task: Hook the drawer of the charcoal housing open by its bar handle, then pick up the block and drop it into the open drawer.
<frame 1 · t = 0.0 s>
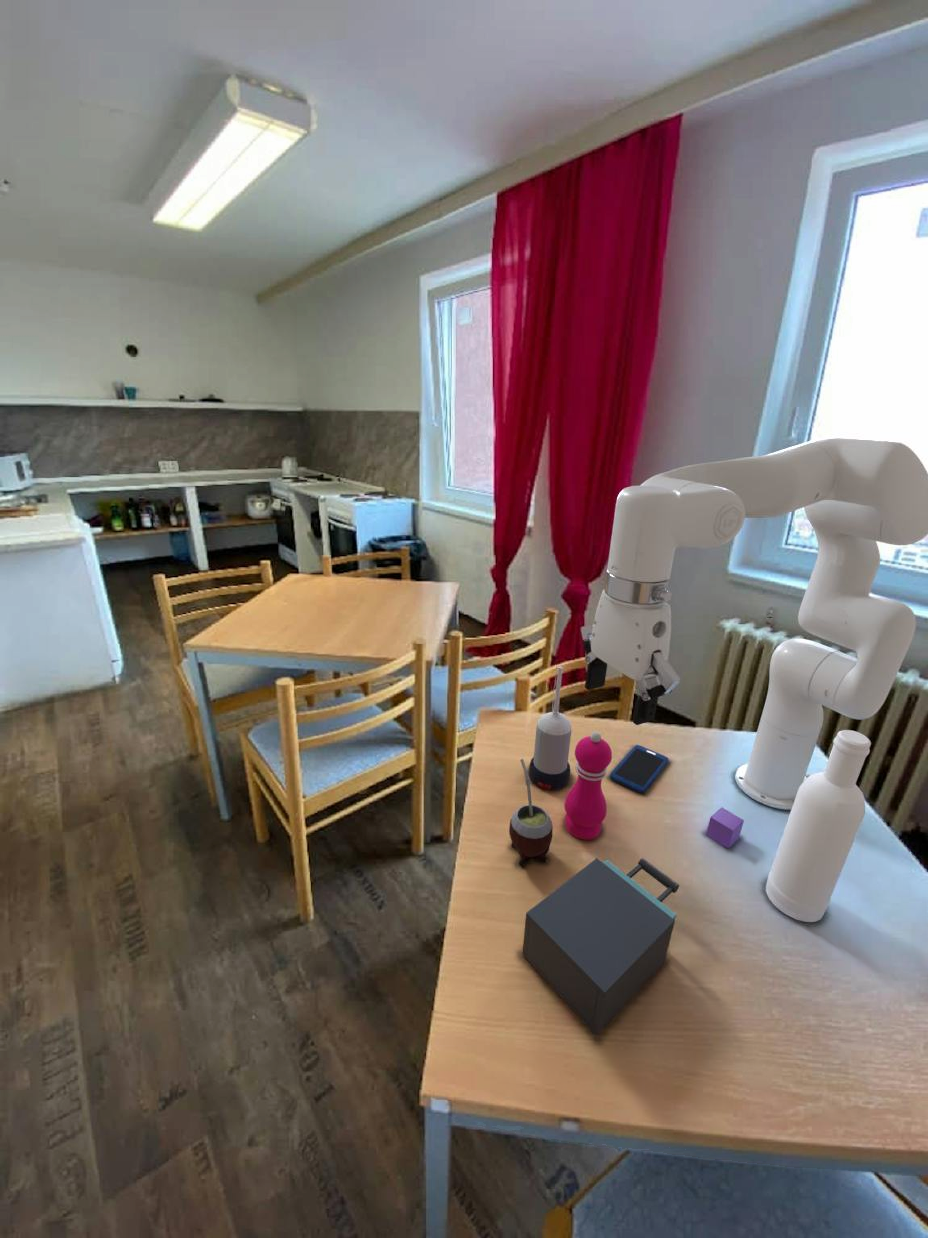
hand: (617, 703, 72), 31 cm above the table, tool pointing down, fingers open, 9 cm apart
mate gourd: (526, 851, 87), on the table
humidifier: (548, 777, 105), on the table
bottle: (793, 900, 80), on the table
drawer: (619, 916, 72), point 4 cm above the table, slide at 0.5 cm
pepper mill: (582, 827, 93), on the table
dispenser: (593, 958, 70), on the table
cell phone: (639, 769, 107), on the table
block: (722, 836, 91), on the table
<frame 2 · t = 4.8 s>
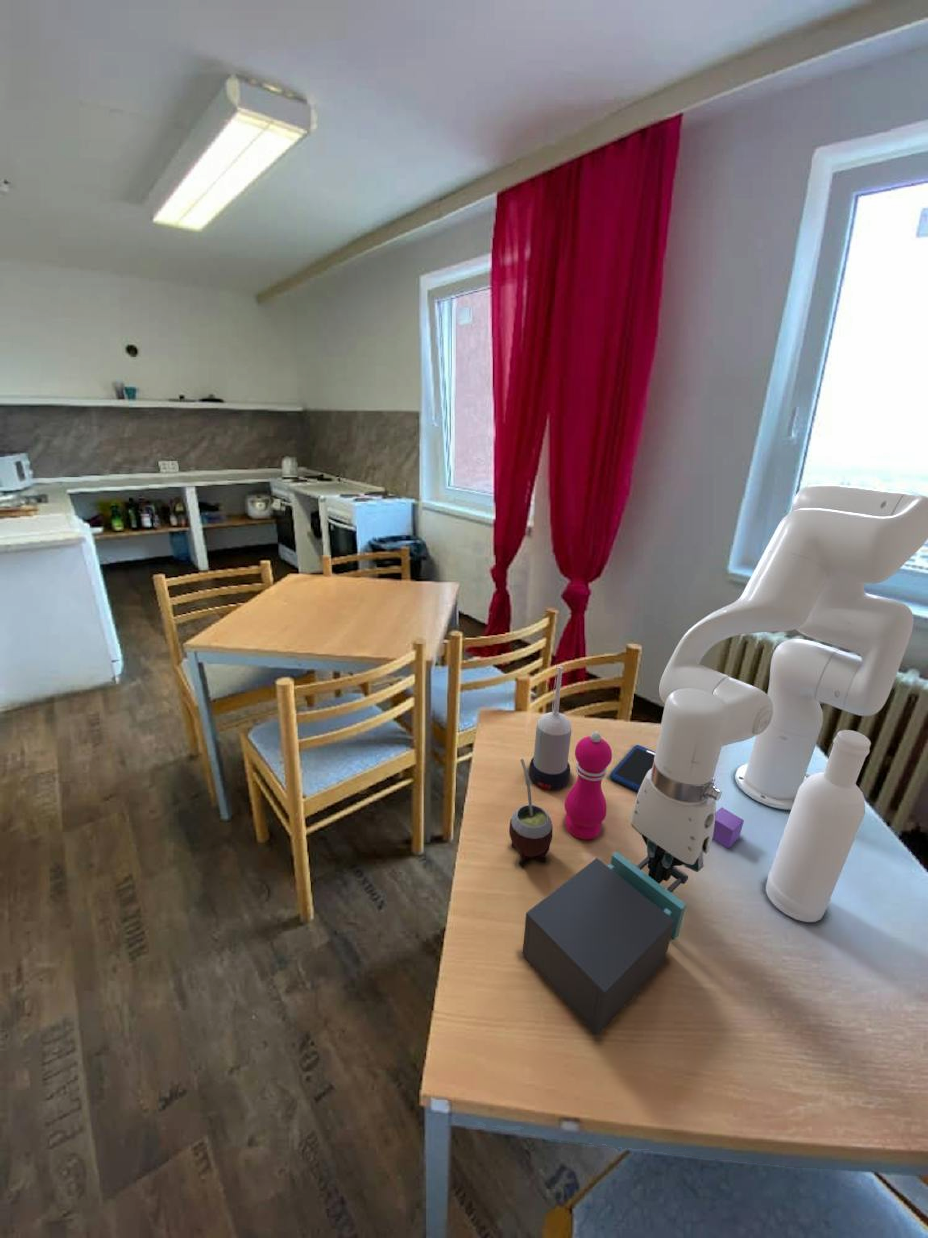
hand: (657, 877, 77), 5 cm above the table, tool pointing down, fingers closed
drawer: (630, 906, 73), point 4 cm above the table, slide at 3.0 cm, touching gripper
everything else where it was.
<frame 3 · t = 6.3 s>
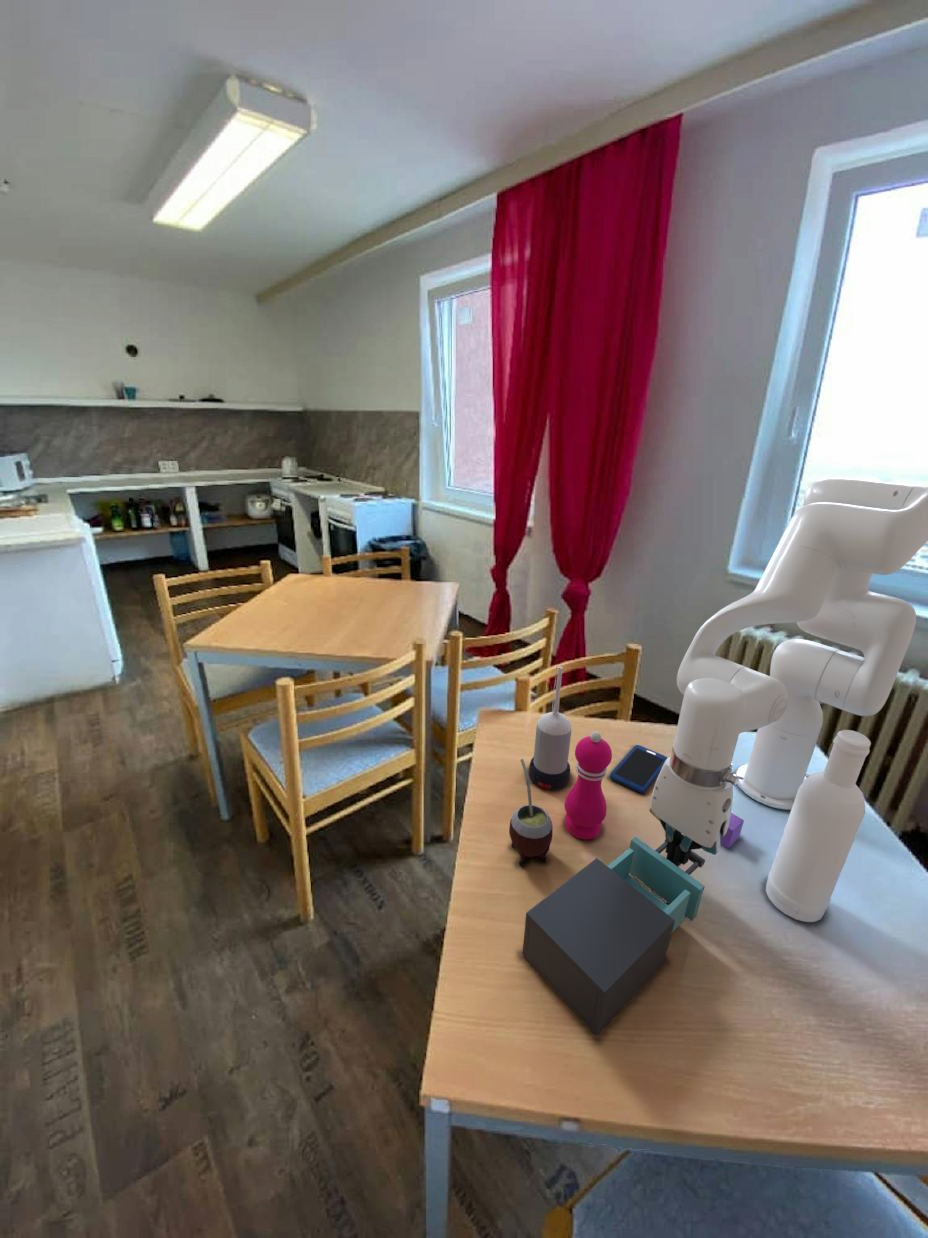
hand: (675, 861, 80), 5 cm above the table, tool pointing down, fingers closed
drawer: (649, 888, 76), point 4 cm above the table, slide at 7.8 cm, touching gripper
everything else where it was.
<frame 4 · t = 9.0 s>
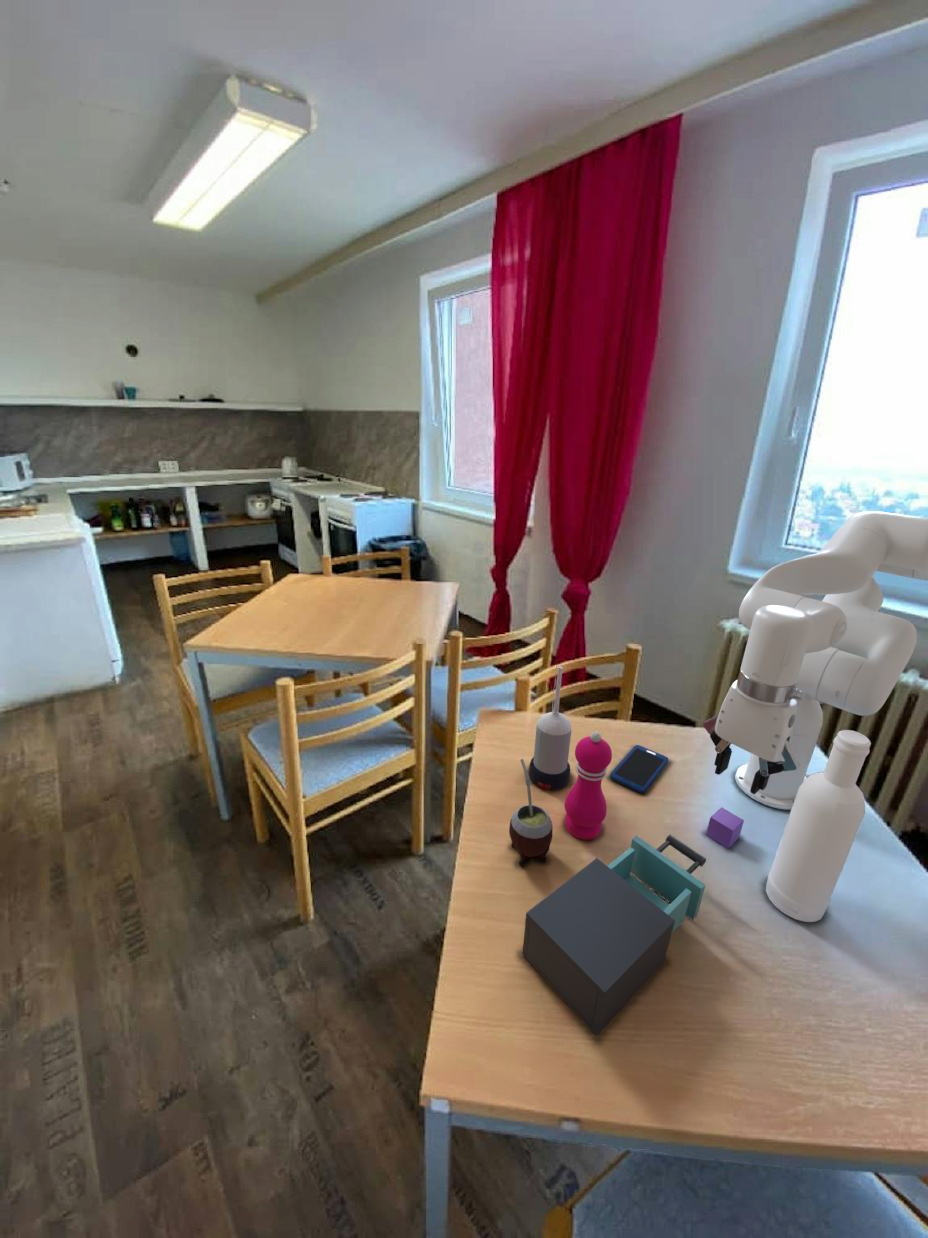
hand: (738, 779, 86), 12 cm above the table, tool pointing down, fingers open, 5 cm apart
drawer: (651, 887, 76), point 4 cm above the table, slide at 8.1 cm
everything else where it was.
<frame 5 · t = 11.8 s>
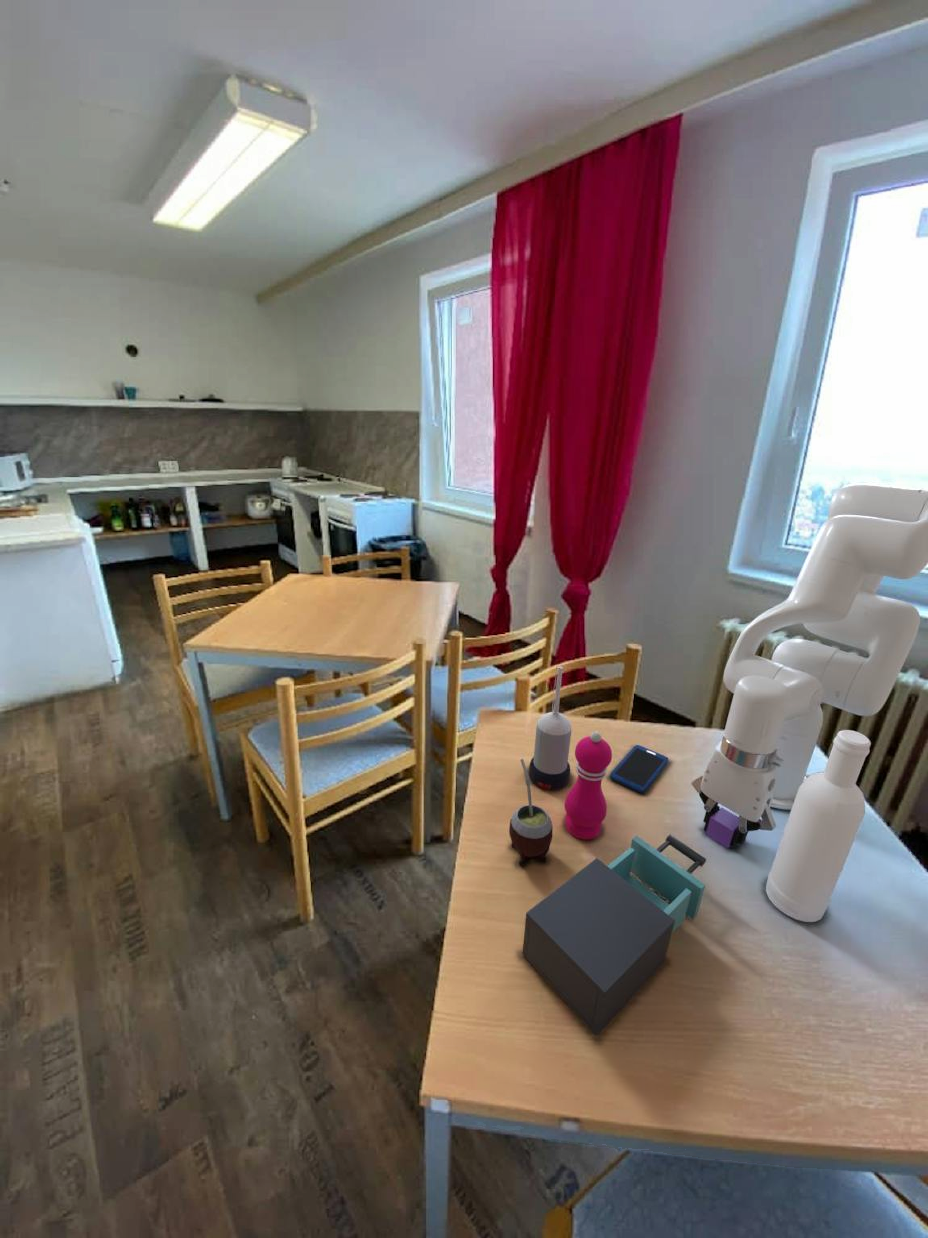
hand: (722, 834, 91), 0 cm above the table, tool pointing down, fingers closed on block, 4 cm apart
block: (722, 836, 91), on the table, touching gripper
everything else where it was.
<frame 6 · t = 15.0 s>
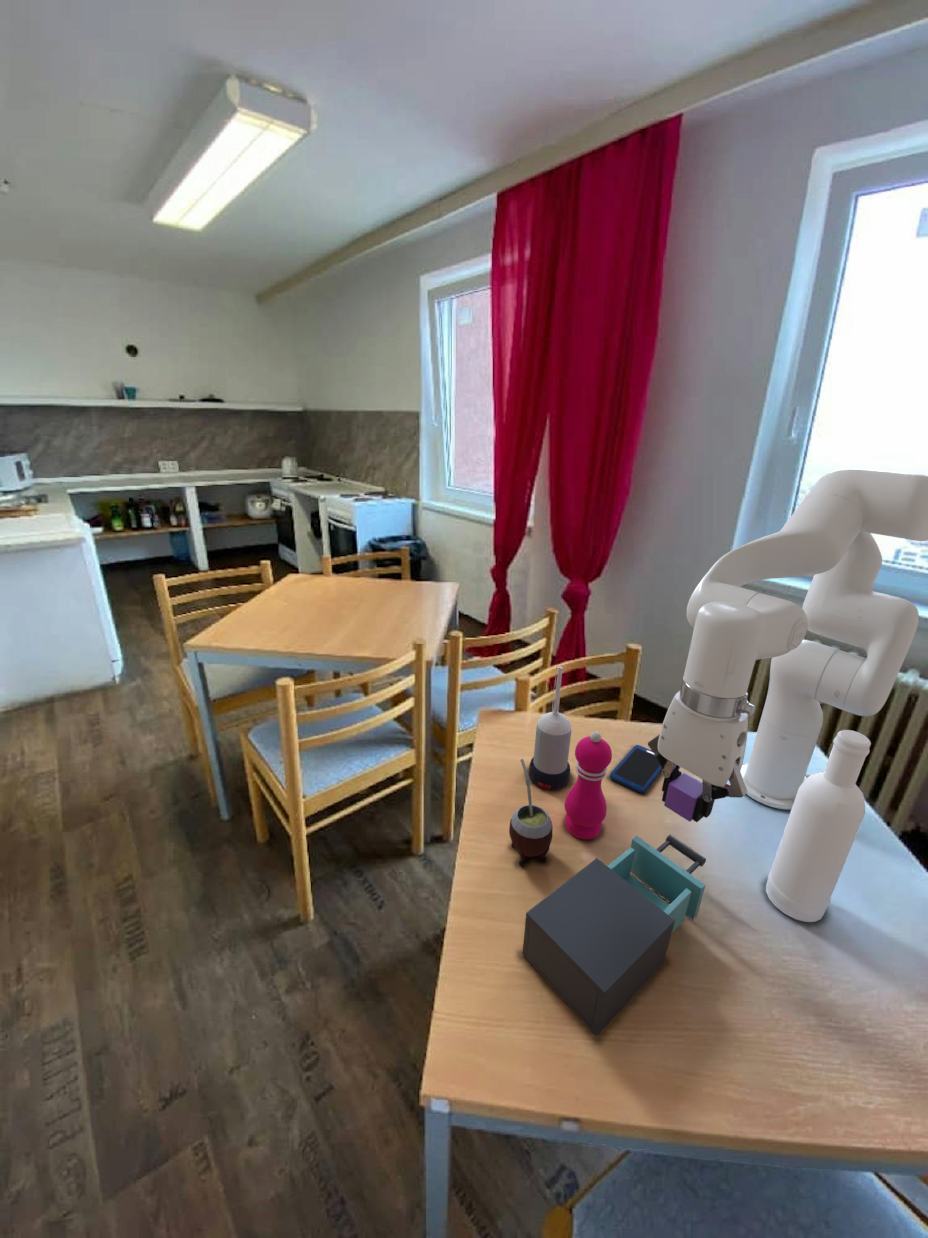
hand: (684, 806, 74), 17 cm above the table, tool pointing down, fingers closed on block, 4 cm apart
block: (684, 807, 74), point 16 cm above the table, touching gripper
everything else where it was.
when the fingers open (8 cm above the table, at t = 18.3 s): block drops 4 cm and tips over, resting on drawer.
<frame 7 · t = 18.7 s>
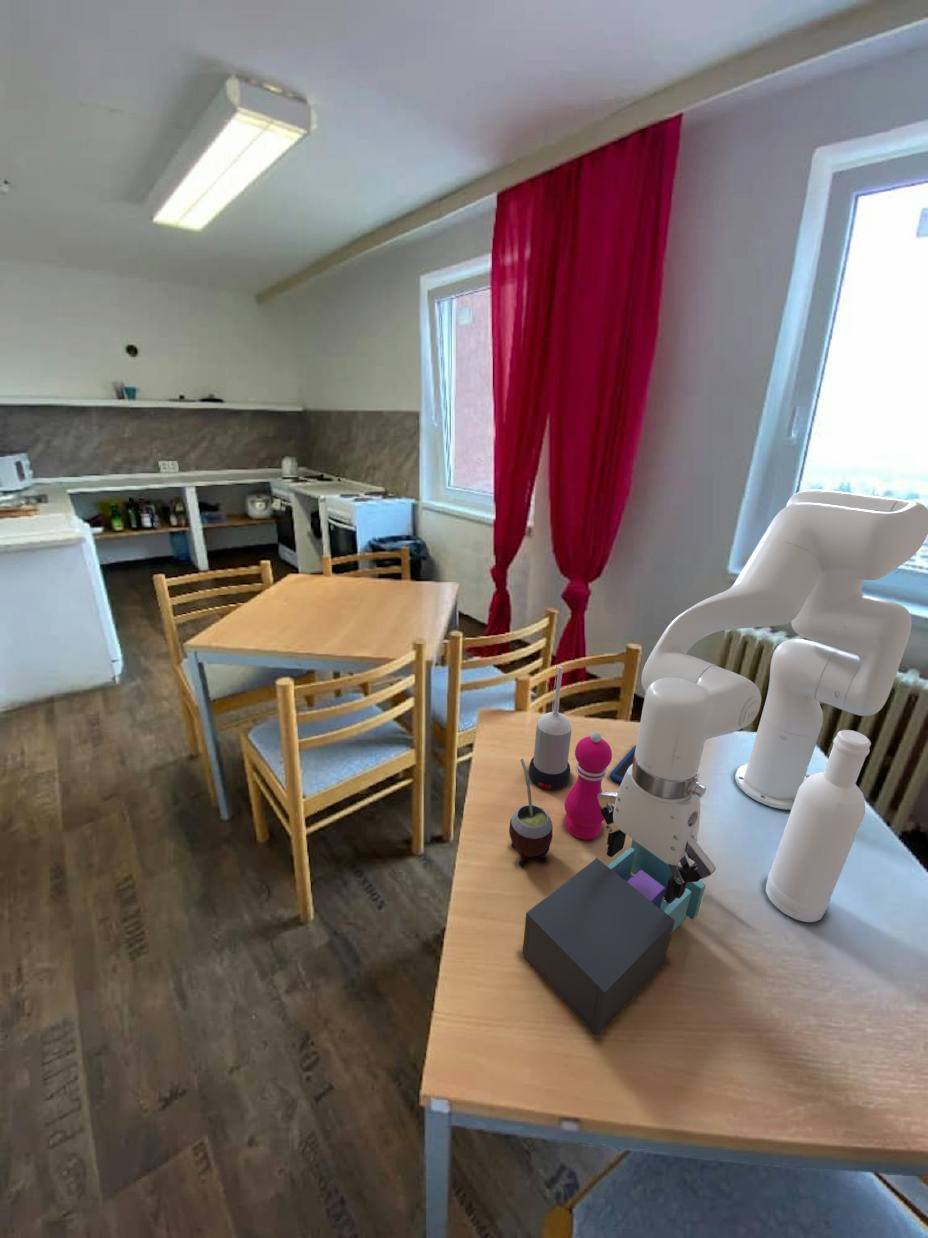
hand: (642, 872, 72), 10 cm above the table, tool pointing down, fingers open, 8 cm apart
drawer: (651, 887, 76), point 4 cm above the table, slide at 8.1 cm, touching block
block: (634, 903, 74), point 4 cm above the table, tilted 90°, touching drawer
everything else where it was.
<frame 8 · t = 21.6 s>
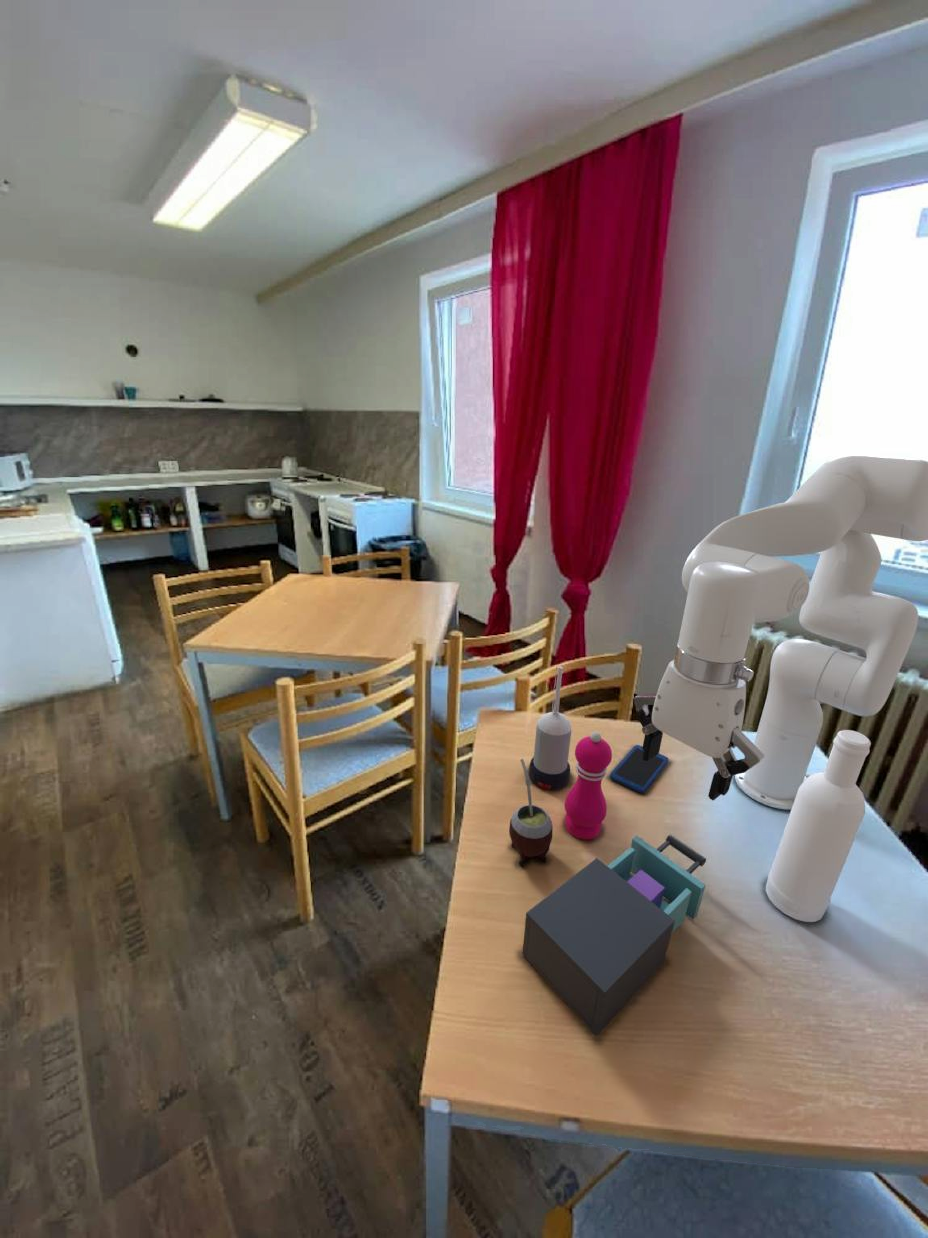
hand: (681, 775, 70), 23 cm above the table, tool pointing down, fingers open, 9 cm apart
nothing on the table moved.
at the end: drawer slide at 8.1 cm; block inside the target area in the drawer (1.0 cm from its centre), point 4.0 cm above the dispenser's base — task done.
